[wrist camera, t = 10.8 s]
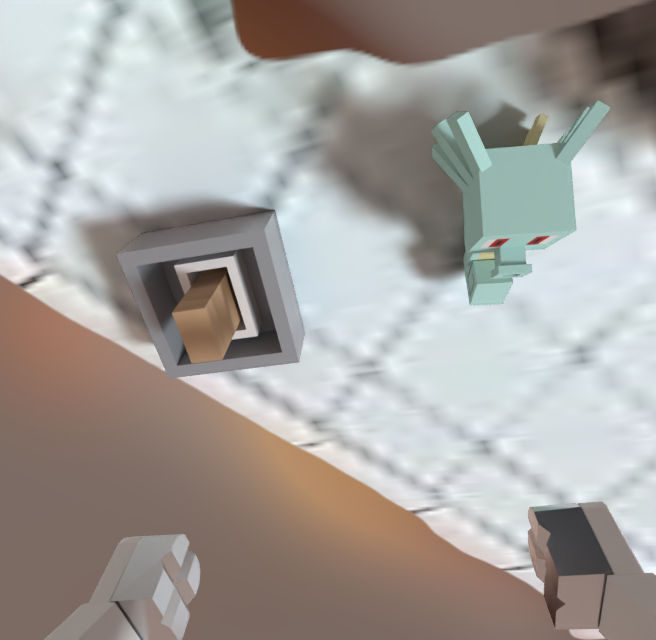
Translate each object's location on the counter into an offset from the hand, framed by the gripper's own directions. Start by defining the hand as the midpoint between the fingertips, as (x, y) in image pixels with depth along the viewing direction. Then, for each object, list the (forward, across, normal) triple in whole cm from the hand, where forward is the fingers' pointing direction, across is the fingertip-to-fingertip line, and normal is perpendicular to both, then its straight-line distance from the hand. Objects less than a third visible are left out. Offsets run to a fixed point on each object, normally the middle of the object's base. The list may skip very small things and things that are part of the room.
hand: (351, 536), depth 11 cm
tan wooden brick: (+30, +13, +6) cm, 33 cm away
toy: (+31, -10, +2) cm, 33 cm away
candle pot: (+31, +13, +6) cm, 34 cm away
